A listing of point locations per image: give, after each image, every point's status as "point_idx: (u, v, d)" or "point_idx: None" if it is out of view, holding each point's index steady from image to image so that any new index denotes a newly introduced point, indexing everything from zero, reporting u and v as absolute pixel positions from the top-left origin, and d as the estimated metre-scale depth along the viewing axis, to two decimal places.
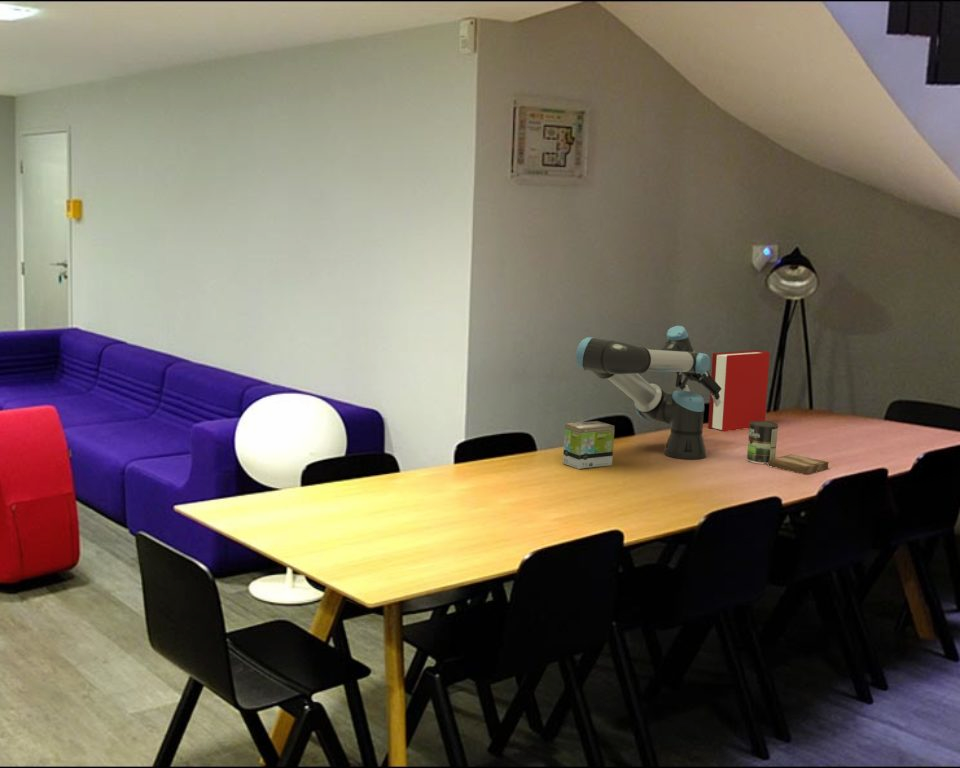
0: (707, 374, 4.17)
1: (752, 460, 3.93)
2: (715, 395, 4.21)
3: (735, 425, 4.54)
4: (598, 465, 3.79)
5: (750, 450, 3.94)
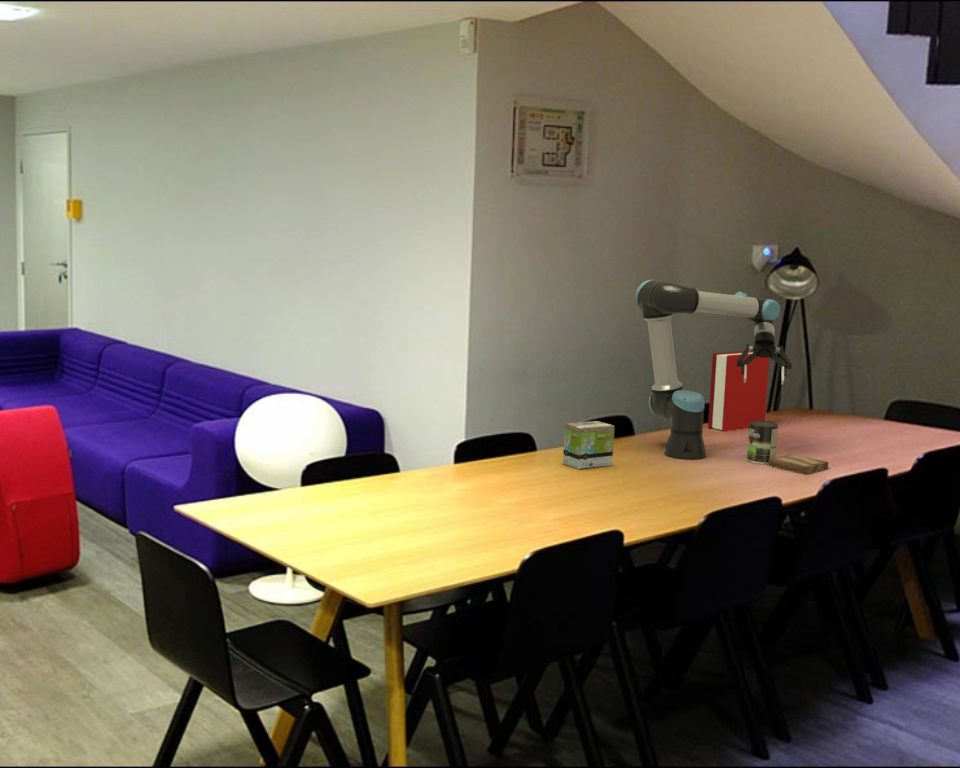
0: None
1: (752, 460, 3.93)
2: (785, 369, 4.04)
3: (735, 425, 4.54)
4: (598, 465, 3.79)
5: (750, 450, 3.94)
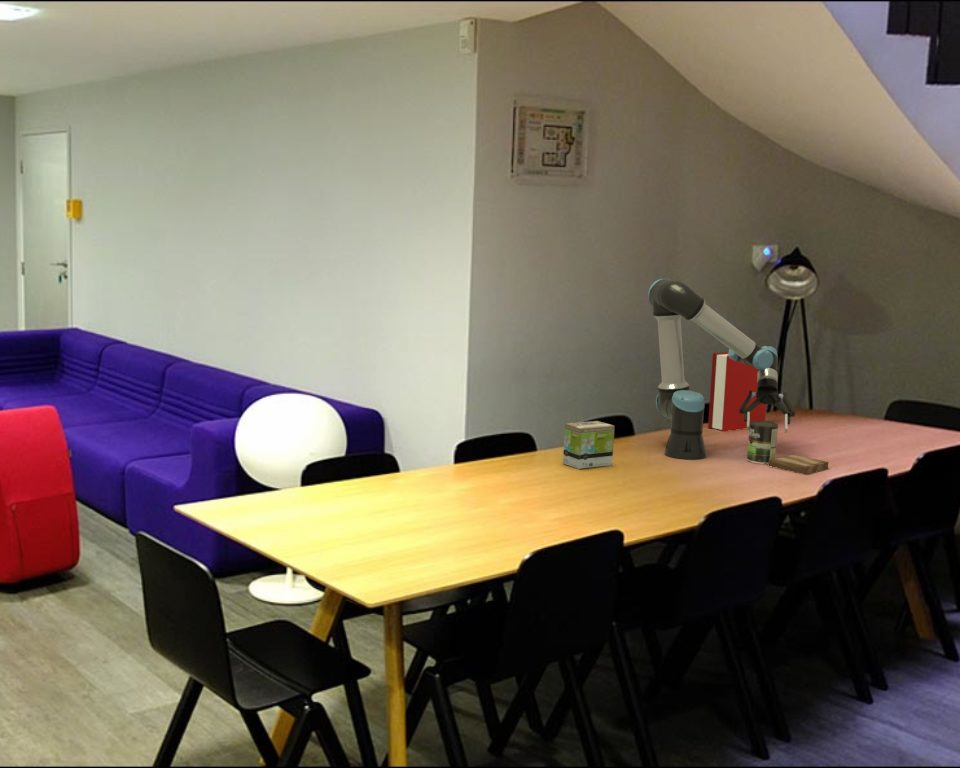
0: None
1: (752, 460, 3.93)
2: (788, 417, 4.01)
3: (735, 425, 4.54)
4: (598, 465, 3.79)
5: (750, 450, 3.94)
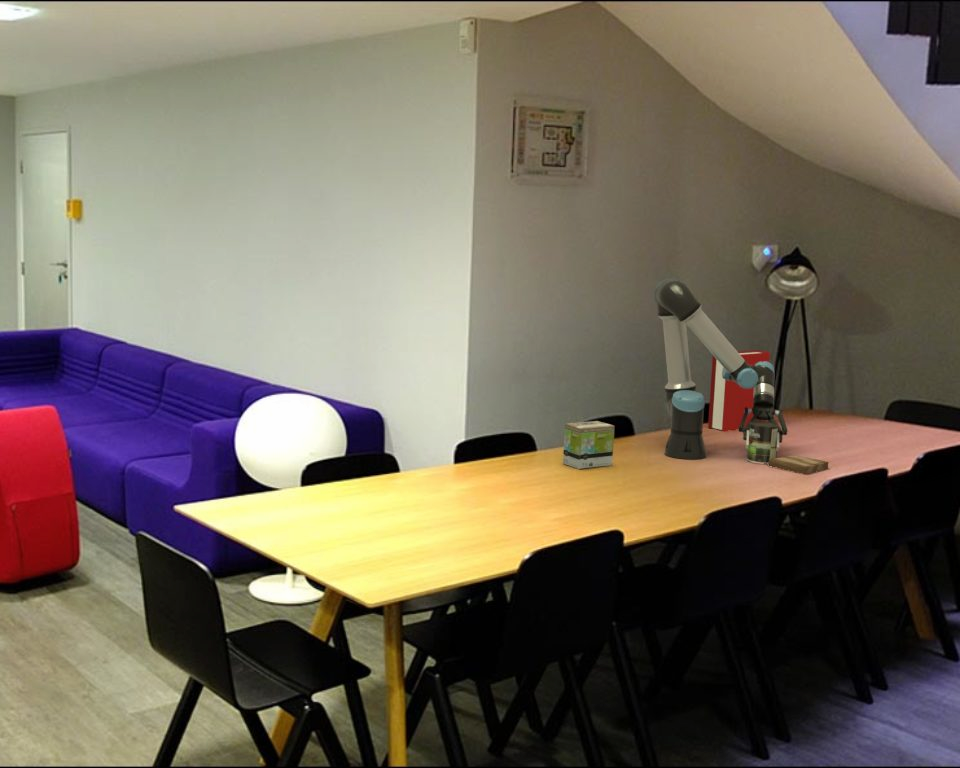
0: None
1: (752, 460, 3.93)
2: (780, 435, 3.94)
3: (735, 425, 4.54)
4: (598, 465, 3.79)
5: (750, 449, 3.94)
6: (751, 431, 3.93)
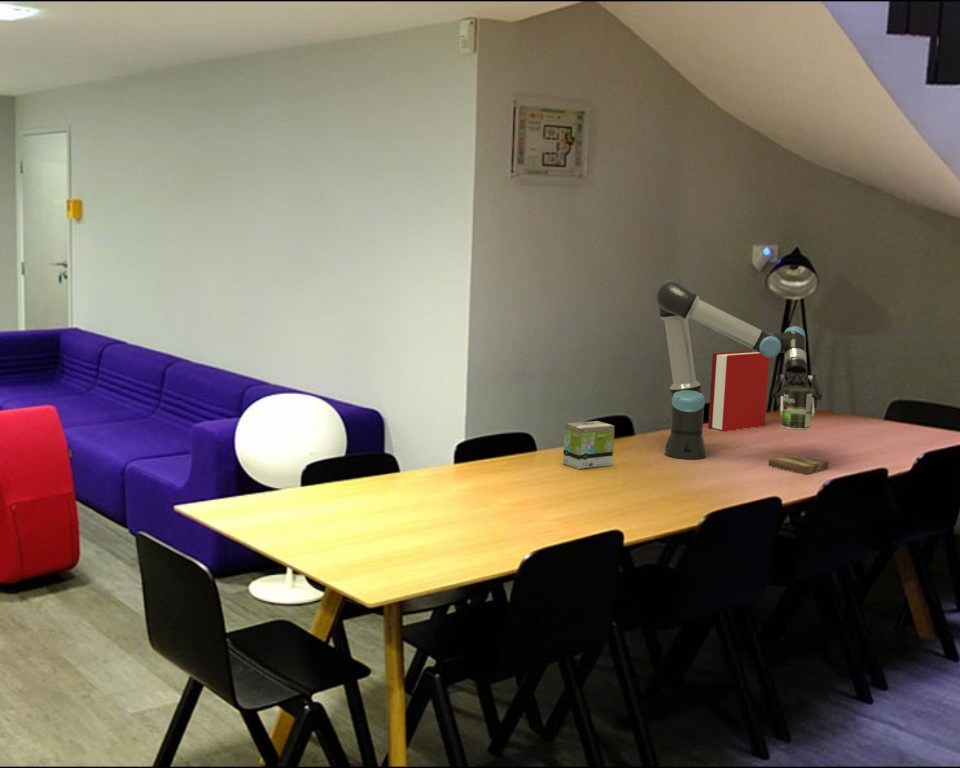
0: None
1: (787, 426, 3.85)
2: (815, 400, 3.86)
3: (735, 425, 4.54)
4: (598, 465, 3.79)
5: (785, 415, 3.85)
6: (785, 396, 3.85)
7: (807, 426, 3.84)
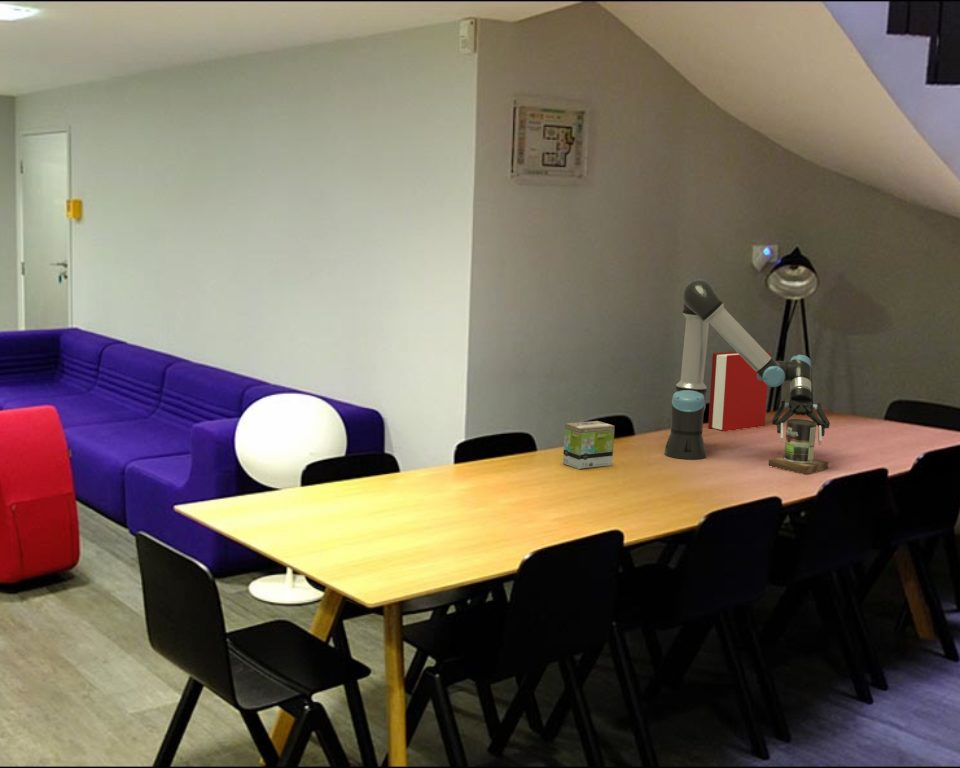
0: None
1: (790, 459, 3.84)
2: (822, 429, 3.85)
3: (735, 425, 4.54)
4: (598, 465, 3.79)
5: (788, 448, 3.85)
6: (789, 429, 3.84)
7: (810, 459, 3.84)
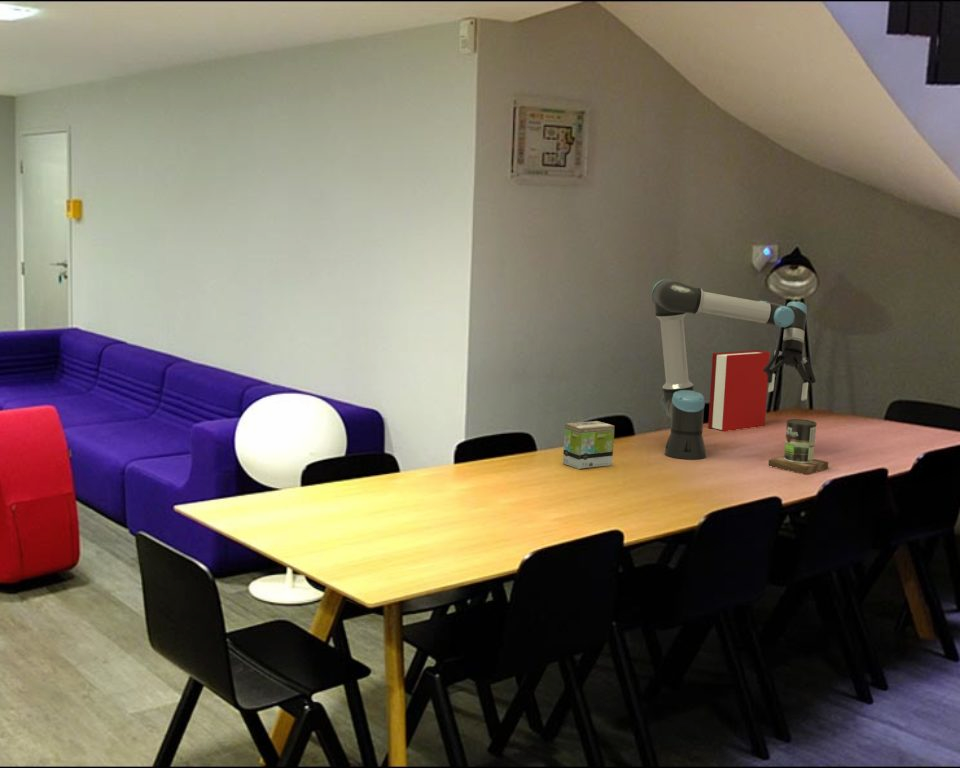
0: None
1: (790, 459, 3.84)
2: (808, 386, 4.04)
3: (735, 425, 4.54)
4: (598, 465, 3.79)
5: (788, 448, 3.85)
6: (789, 429, 3.84)
7: (810, 459, 3.84)
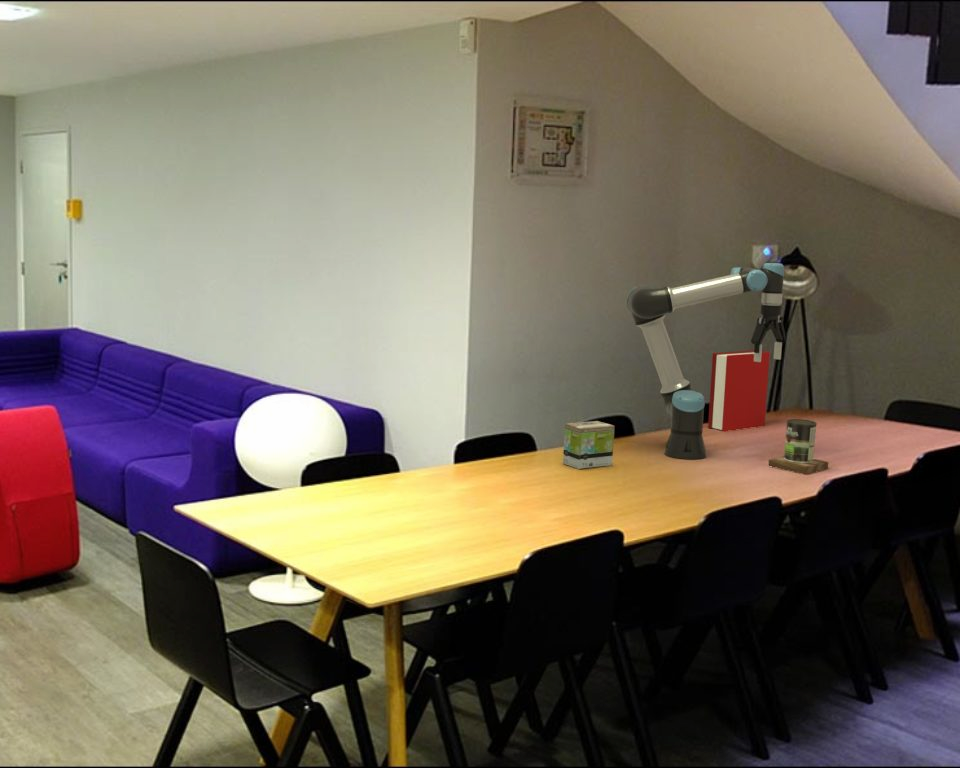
0: None
1: (790, 459, 3.84)
2: None
3: (735, 425, 4.54)
4: (598, 465, 3.79)
5: (788, 448, 3.85)
6: (789, 429, 3.84)
7: (810, 460, 3.84)
